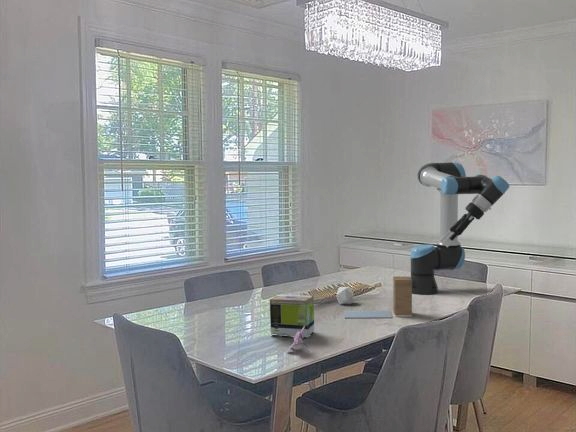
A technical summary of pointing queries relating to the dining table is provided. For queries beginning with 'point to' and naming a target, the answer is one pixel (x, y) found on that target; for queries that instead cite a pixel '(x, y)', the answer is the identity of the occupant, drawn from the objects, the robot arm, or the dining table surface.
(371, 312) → the mat
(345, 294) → the white faceted ball
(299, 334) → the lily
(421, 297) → the dining table surface
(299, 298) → the tea box
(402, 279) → the brown wooden block
